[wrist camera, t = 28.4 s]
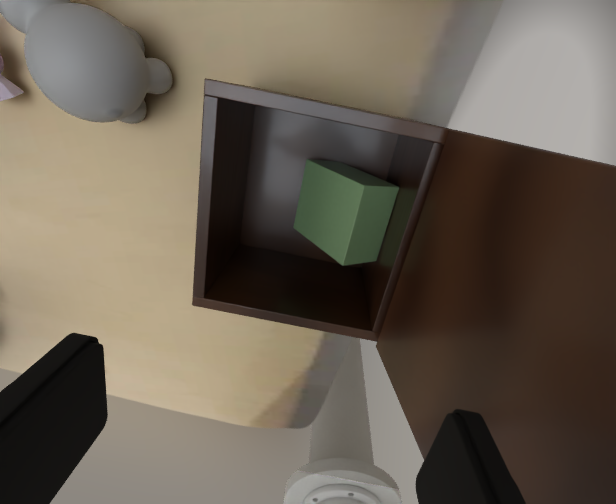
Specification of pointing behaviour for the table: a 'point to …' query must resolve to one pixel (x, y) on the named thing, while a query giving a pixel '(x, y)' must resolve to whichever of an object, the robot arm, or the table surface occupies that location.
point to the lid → (514, 313)
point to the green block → (344, 210)
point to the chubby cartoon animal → (86, 59)
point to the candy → (7, 85)
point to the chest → (284, 200)
